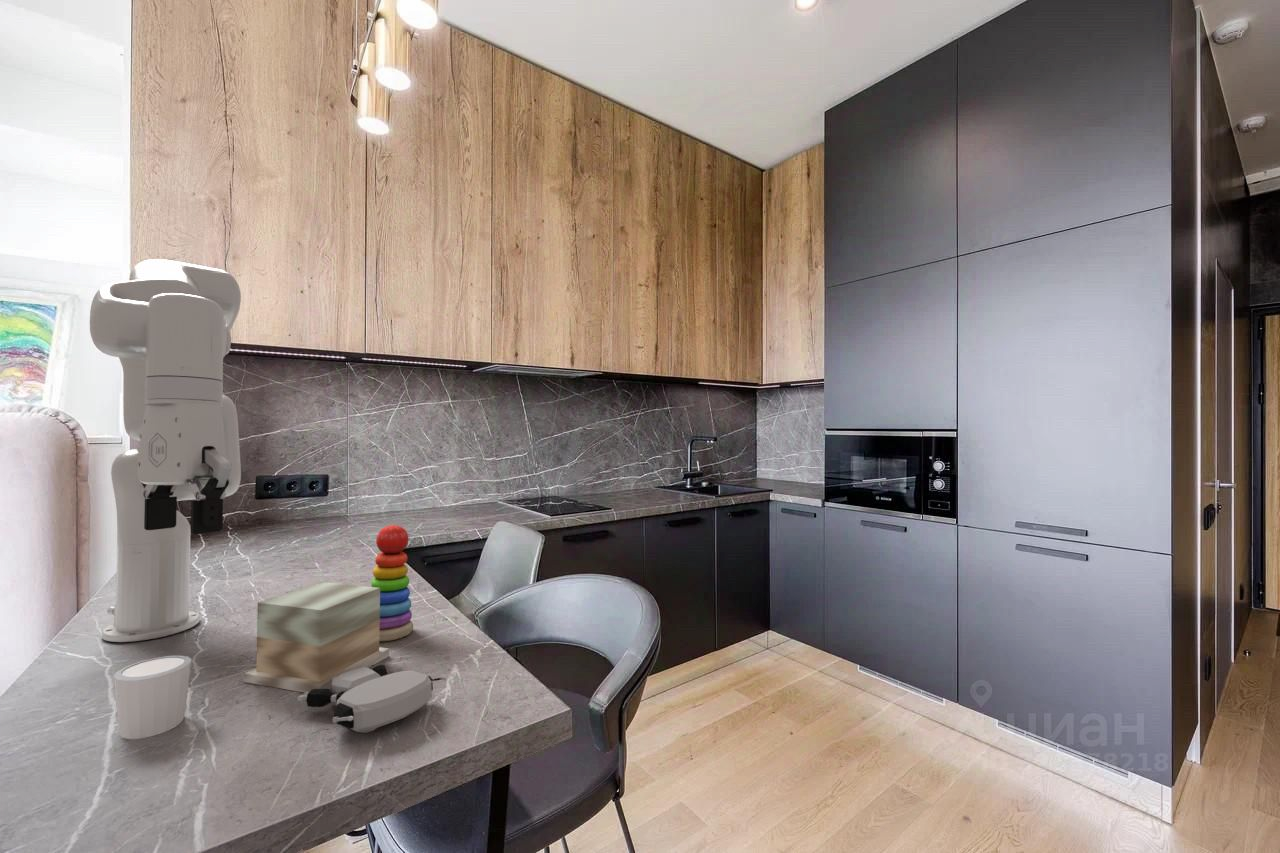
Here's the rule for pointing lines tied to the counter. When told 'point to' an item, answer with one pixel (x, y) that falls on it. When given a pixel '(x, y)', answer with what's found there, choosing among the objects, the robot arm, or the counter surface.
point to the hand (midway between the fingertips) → (183, 530)
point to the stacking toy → (393, 583)
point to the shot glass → (151, 695)
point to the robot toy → (372, 696)
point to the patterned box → (316, 636)
